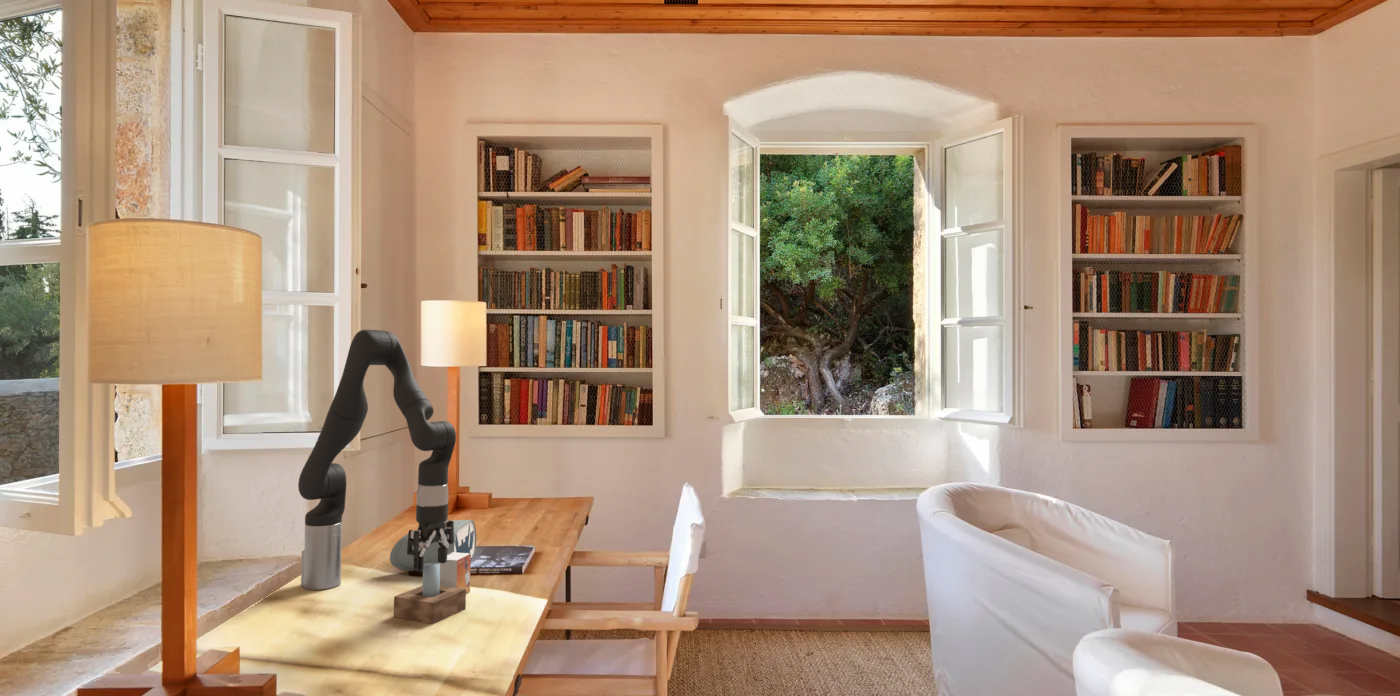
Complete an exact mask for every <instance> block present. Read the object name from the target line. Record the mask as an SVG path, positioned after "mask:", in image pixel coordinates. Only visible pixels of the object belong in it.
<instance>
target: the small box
mask: <svg viewBox="0 0 1400 696" xmlns="http://www.w3.org/2000/svg"><path fill="white" fill-rule="evenodd" d="M438 563H439V562H438ZM471 563H472V559H471V554H470V553H457V552H452V553H451V554H449V555H447V561H446V563H439V564H440V585H441V586H447V587H454V588H460V589H466V595H467V594H469V593H470V592H471V567H472V564H471Z"/></svg>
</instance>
